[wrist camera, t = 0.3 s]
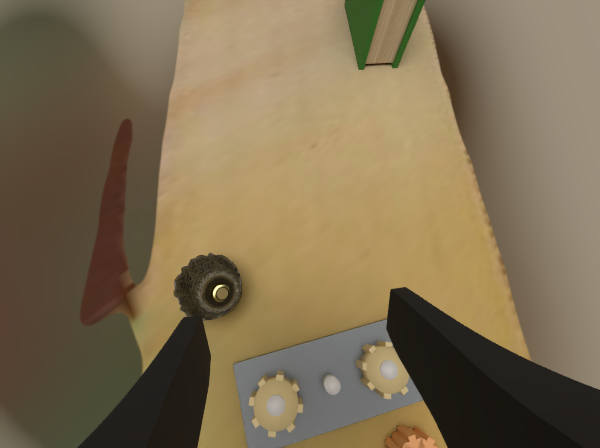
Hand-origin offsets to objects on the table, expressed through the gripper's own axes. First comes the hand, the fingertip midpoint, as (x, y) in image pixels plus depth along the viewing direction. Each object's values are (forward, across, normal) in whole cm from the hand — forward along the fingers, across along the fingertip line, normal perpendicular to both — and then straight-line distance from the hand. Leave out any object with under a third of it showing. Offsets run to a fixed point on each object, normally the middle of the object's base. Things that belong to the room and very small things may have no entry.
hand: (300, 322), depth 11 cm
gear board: (+16, -5, +26) cm, 31 cm away
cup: (+26, +8, +17) cm, 32 cm away
